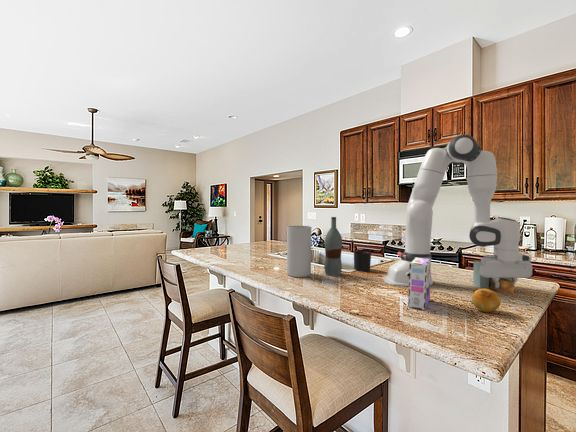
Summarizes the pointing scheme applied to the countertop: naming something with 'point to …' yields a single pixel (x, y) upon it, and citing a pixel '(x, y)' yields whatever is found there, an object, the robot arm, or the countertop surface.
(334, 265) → the bottle
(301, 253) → the cylinder vase
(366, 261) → the pen holder
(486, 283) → the grey-green arch block
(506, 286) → the bar
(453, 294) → the countertop surface
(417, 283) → the candy box
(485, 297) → the fruit
